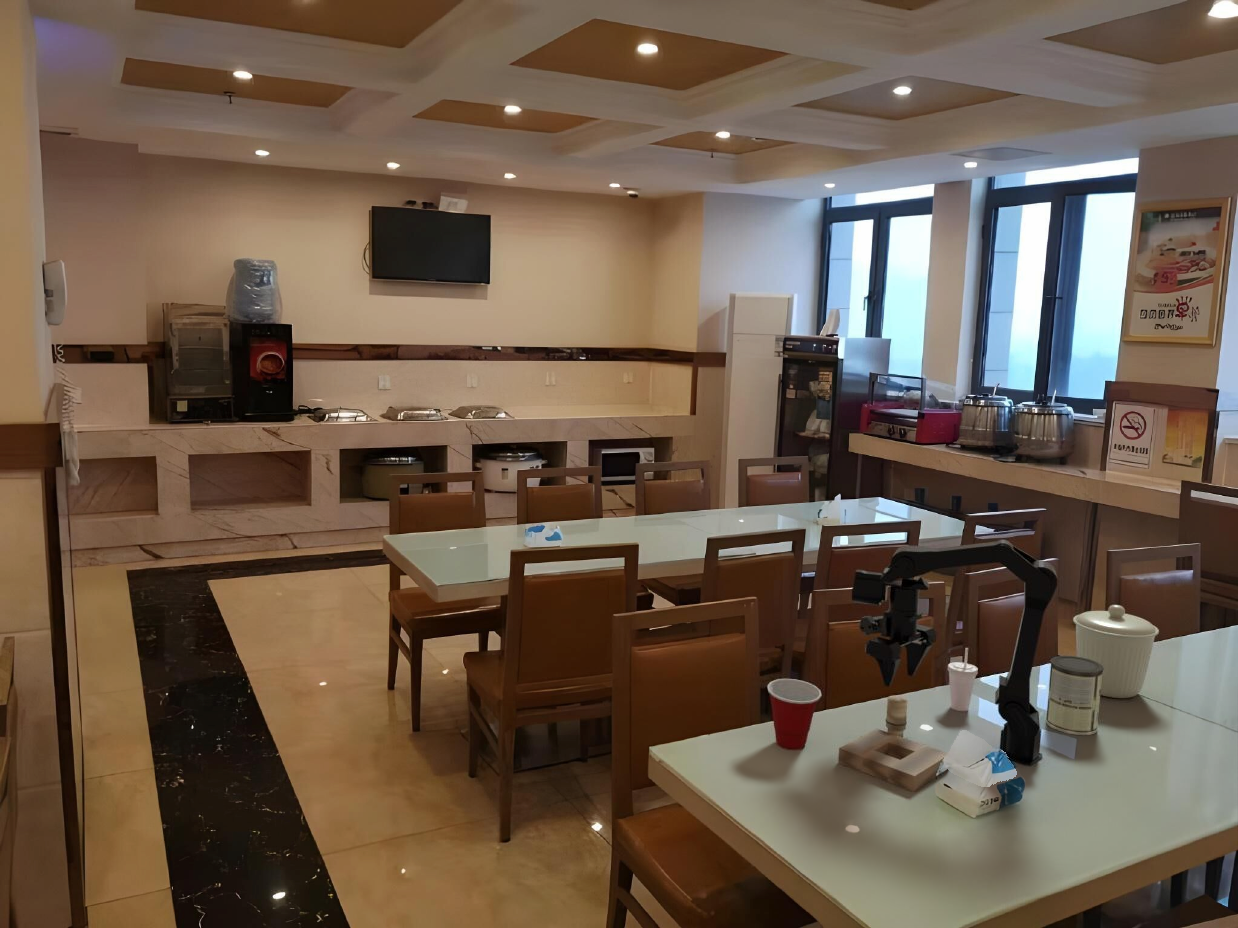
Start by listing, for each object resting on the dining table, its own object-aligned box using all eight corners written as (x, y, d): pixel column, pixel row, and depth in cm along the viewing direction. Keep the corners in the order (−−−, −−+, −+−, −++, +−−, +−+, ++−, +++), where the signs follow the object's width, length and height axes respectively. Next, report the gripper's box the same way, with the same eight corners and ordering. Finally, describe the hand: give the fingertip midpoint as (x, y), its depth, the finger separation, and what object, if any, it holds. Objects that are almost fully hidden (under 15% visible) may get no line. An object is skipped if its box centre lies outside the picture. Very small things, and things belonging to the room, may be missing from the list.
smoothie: (978, 714, 213) (983, 653, 212) (949, 713, 214) (954, 652, 212) (969, 702, 220) (973, 643, 218) (940, 702, 220) (945, 643, 218)
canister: (1073, 699, 224) (1081, 611, 221) (1062, 673, 241) (1069, 591, 238) (1160, 709, 219) (1169, 620, 216) (1142, 682, 236) (1150, 599, 233)
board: (949, 768, 186) (950, 753, 185) (913, 791, 176) (914, 775, 176) (875, 742, 197) (876, 728, 197) (838, 762, 187) (839, 747, 187)
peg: (909, 736, 201) (911, 699, 199) (899, 741, 198) (901, 704, 197) (891, 729, 204) (893, 693, 202) (880, 735, 201) (883, 698, 199)
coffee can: (1038, 715, 214) (1043, 654, 212) (1086, 717, 213) (1092, 656, 211) (1054, 733, 204) (1060, 670, 202) (1105, 737, 203) (1111, 673, 201)
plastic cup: (787, 760, 188) (790, 701, 186) (753, 739, 197) (756, 683, 195) (830, 749, 193) (833, 692, 191) (795, 729, 202) (797, 675, 201)
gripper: (892, 592, 209) (888, 660, 211) (844, 607, 197) (840, 680, 199) (939, 602, 201) (935, 674, 204) (893, 619, 189) (888, 696, 191)
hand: (899, 680), depth 199 cm, fingers open, 9 cm apart
